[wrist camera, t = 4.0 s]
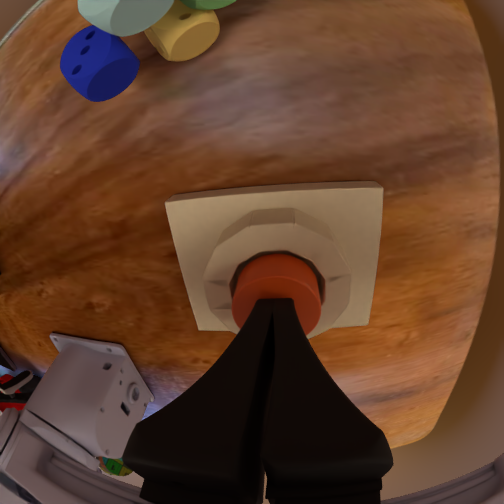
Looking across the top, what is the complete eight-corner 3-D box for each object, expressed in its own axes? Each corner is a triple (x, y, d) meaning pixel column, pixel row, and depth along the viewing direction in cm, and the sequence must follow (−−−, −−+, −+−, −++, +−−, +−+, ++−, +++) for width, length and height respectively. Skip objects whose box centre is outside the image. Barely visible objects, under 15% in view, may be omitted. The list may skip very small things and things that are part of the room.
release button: (318, 250, 11) (322, 273, 10) (316, 317, 13) (319, 343, 12) (231, 255, 12) (224, 278, 10) (242, 319, 14) (238, 345, 12)
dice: (25, 71, 6) (129, 76, 11) (43, 112, 6) (153, 108, 12) (177, -102, 2) (245, -29, 8) (226, -87, 2) (281, -2, 8)
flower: (21, 373, 30) (45, 402, 34) (-1, 362, 31) (22, 390, 34) (0, 407, 23) (28, 433, 27) (-20, 391, 24) (5, 418, 28)
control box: (375, 181, 12) (398, 200, 10) (364, 311, 16) (374, 347, 13) (172, 194, 14) (147, 216, 11) (203, 317, 17) (190, 352, 15)
